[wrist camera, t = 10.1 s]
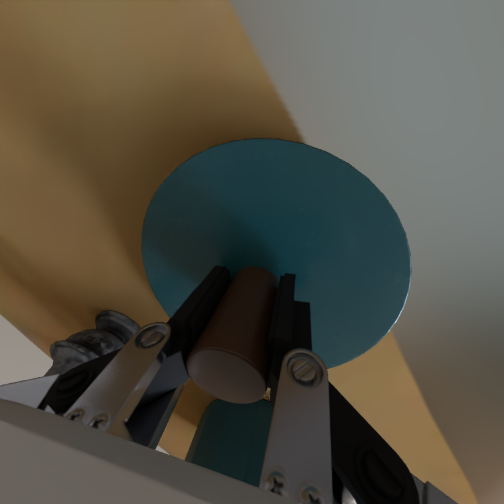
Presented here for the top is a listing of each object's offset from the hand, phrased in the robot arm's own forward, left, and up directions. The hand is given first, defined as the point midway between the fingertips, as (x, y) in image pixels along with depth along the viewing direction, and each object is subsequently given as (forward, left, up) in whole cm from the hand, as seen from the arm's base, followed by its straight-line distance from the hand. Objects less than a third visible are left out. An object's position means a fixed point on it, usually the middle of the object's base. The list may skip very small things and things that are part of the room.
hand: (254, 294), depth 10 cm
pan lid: (0, 0, -1) cm, 1 cm away
